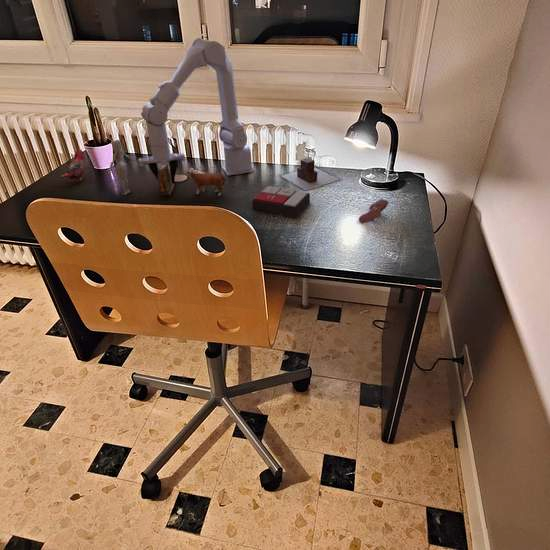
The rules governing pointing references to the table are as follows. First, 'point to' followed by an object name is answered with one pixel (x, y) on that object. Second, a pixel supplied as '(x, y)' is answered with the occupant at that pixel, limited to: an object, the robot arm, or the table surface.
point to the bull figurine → (206, 180)
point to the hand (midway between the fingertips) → (166, 183)
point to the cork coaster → (180, 178)
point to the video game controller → (374, 211)
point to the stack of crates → (309, 176)
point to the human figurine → (120, 164)
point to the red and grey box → (281, 201)
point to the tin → (165, 179)
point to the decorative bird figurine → (76, 167)
